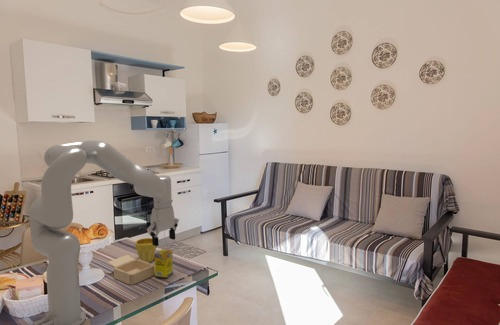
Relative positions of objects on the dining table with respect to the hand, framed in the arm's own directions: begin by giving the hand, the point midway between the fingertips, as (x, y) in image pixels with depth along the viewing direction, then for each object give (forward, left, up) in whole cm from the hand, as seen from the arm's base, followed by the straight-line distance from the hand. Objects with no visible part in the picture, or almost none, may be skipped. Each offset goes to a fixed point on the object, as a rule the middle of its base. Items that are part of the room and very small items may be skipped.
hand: (164, 242), depth 153 cm
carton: (-8, +10, -15) cm, 20 cm away
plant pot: (+7, +20, -16) cm, 26 cm away
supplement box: (0, 0, -16) cm, 16 cm away
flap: (-8, +19, -10) cm, 23 cm away
